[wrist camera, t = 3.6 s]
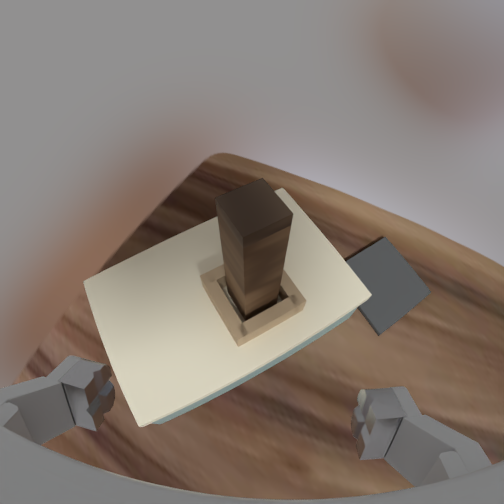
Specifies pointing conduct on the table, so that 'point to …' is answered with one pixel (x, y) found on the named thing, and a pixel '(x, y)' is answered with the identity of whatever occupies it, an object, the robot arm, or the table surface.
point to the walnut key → (253, 245)
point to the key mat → (387, 284)
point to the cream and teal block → (212, 316)
